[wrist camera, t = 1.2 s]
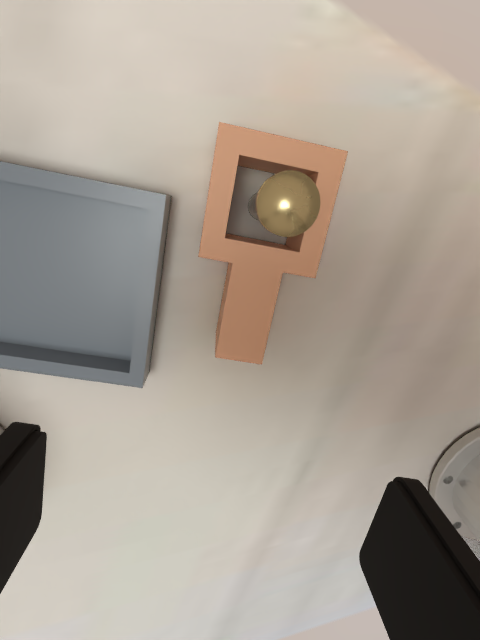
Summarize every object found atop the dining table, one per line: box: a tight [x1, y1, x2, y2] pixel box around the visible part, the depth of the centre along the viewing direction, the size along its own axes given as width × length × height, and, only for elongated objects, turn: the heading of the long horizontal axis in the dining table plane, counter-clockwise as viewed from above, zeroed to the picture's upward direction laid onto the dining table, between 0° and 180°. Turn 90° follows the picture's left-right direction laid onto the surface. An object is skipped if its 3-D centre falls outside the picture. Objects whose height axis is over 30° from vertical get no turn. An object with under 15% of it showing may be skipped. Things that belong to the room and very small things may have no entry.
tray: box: [0, 161, 172, 388], centre depth 23 cm, size 18×13×2 cm
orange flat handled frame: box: [198, 122, 348, 364], centre depth 22 cm, size 7×13×4 cm, turn 169°
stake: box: [248, 170, 320, 237], centre depth 19 cm, size 3×3×10 cm
